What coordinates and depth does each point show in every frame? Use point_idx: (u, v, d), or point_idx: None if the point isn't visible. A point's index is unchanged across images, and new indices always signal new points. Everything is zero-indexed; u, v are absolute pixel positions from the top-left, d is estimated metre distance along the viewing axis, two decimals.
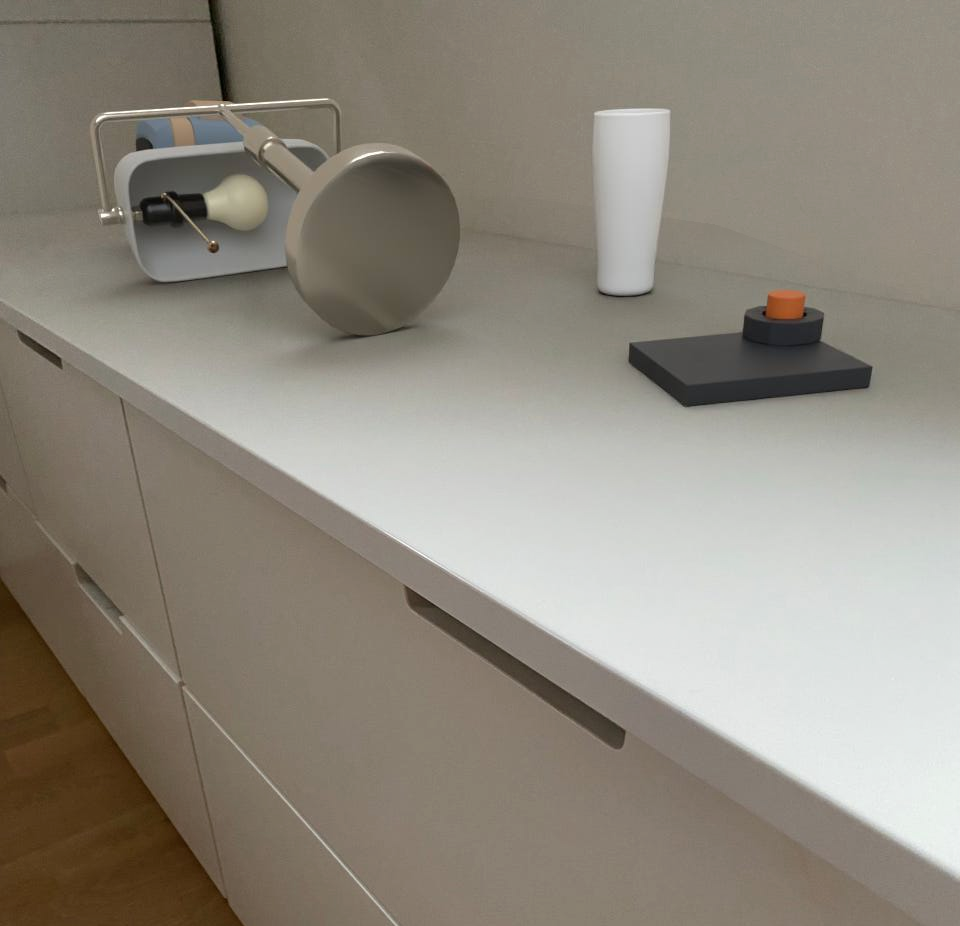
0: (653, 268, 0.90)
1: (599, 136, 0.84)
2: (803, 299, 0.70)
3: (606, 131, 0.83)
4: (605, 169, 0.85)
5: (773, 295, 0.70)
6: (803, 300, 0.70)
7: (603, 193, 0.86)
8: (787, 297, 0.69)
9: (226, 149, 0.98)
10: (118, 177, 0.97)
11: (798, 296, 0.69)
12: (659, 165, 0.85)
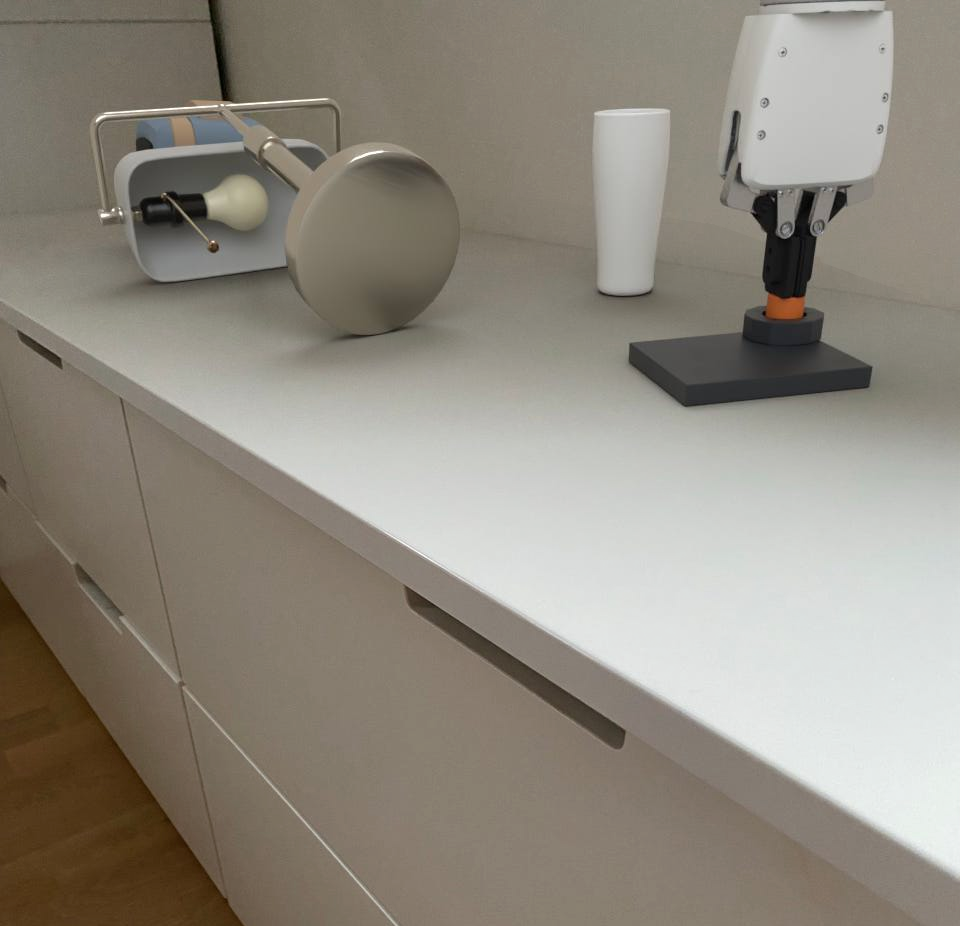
0: (653, 268, 0.90)
1: (599, 136, 0.84)
2: (803, 299, 0.70)
3: (606, 131, 0.83)
4: (605, 169, 0.85)
5: (773, 295, 0.70)
6: (803, 300, 0.70)
7: (603, 193, 0.86)
8: None
9: (226, 149, 0.98)
10: (118, 177, 0.97)
11: None
12: (659, 165, 0.85)
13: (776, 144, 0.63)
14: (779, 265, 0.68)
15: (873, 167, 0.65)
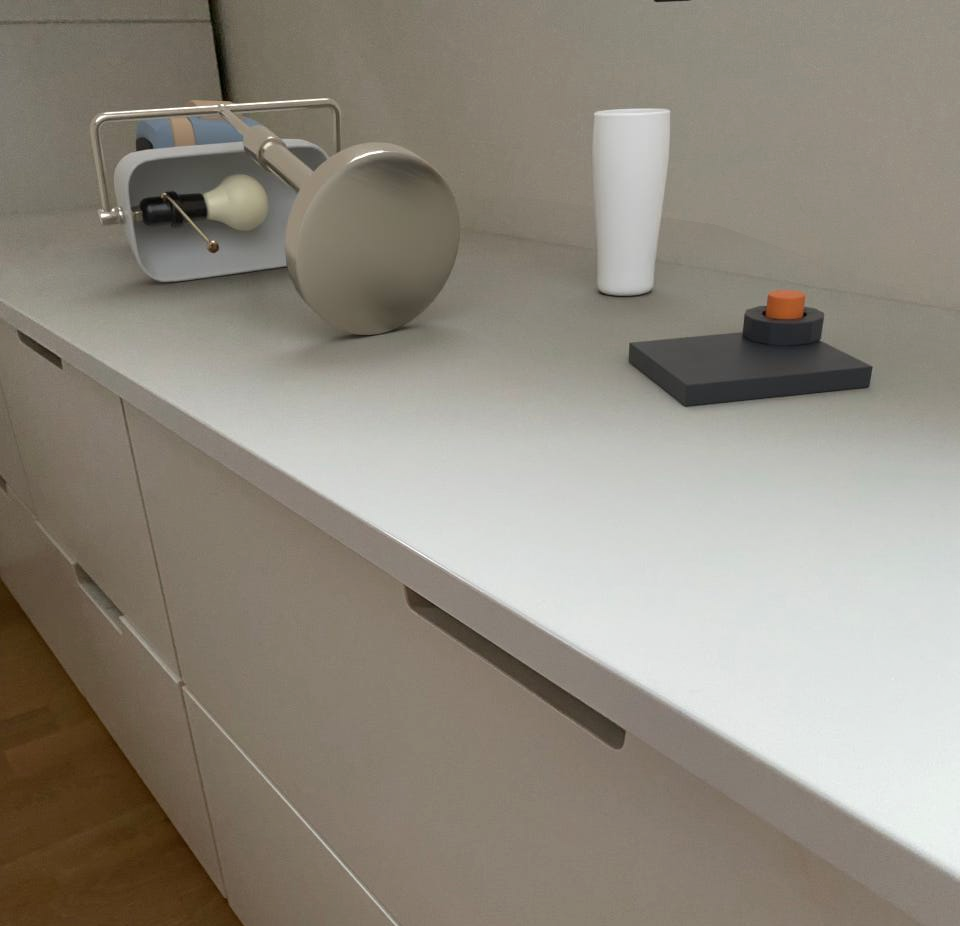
0: (653, 268, 0.90)
1: (599, 136, 0.84)
2: (803, 299, 0.70)
3: (606, 131, 0.83)
4: (605, 169, 0.85)
5: (773, 295, 0.70)
6: (803, 300, 0.70)
7: (603, 193, 0.86)
8: (787, 297, 0.69)
9: (226, 149, 0.98)
10: (118, 177, 0.97)
11: (798, 296, 0.69)
12: (659, 165, 0.85)
13: None
14: None
15: None
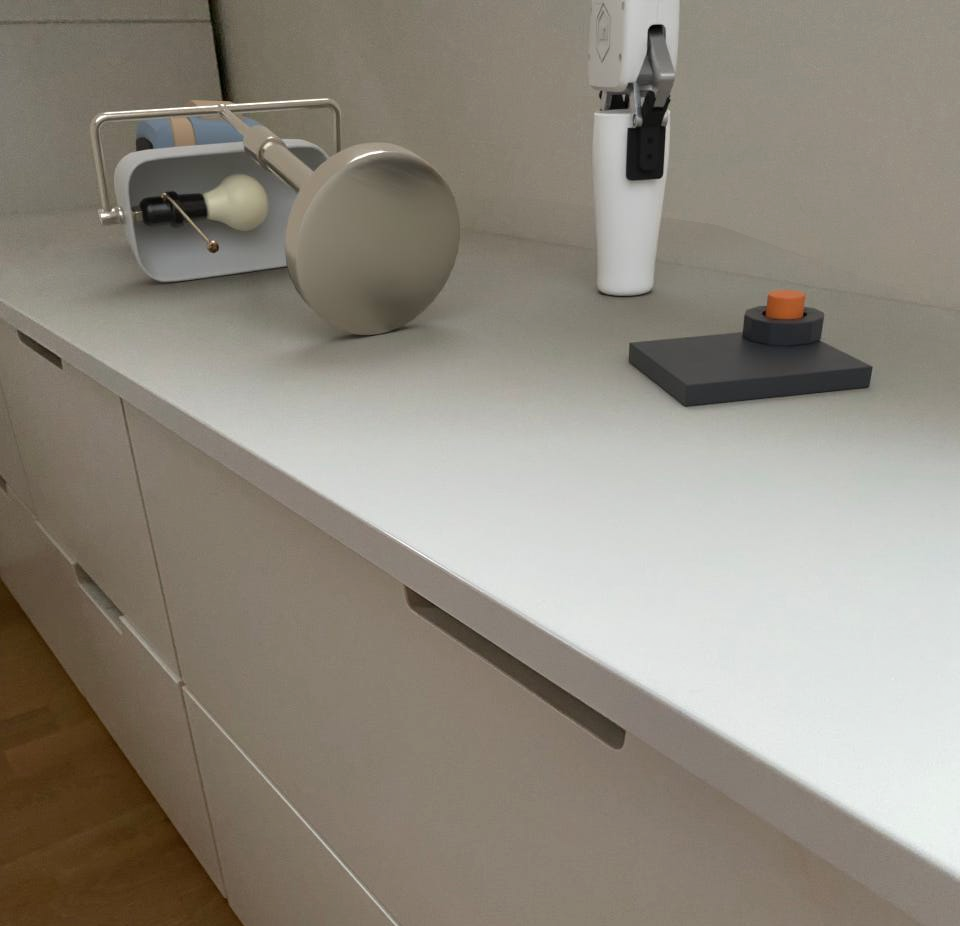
0: (653, 268, 0.90)
1: (599, 136, 0.84)
2: (803, 299, 0.70)
3: (606, 131, 0.83)
4: (605, 169, 0.85)
5: (773, 295, 0.70)
6: (803, 300, 0.70)
7: (603, 193, 0.86)
8: (787, 297, 0.69)
9: (226, 149, 0.98)
10: (118, 177, 0.97)
11: (798, 296, 0.69)
12: None
13: None
14: None
15: None
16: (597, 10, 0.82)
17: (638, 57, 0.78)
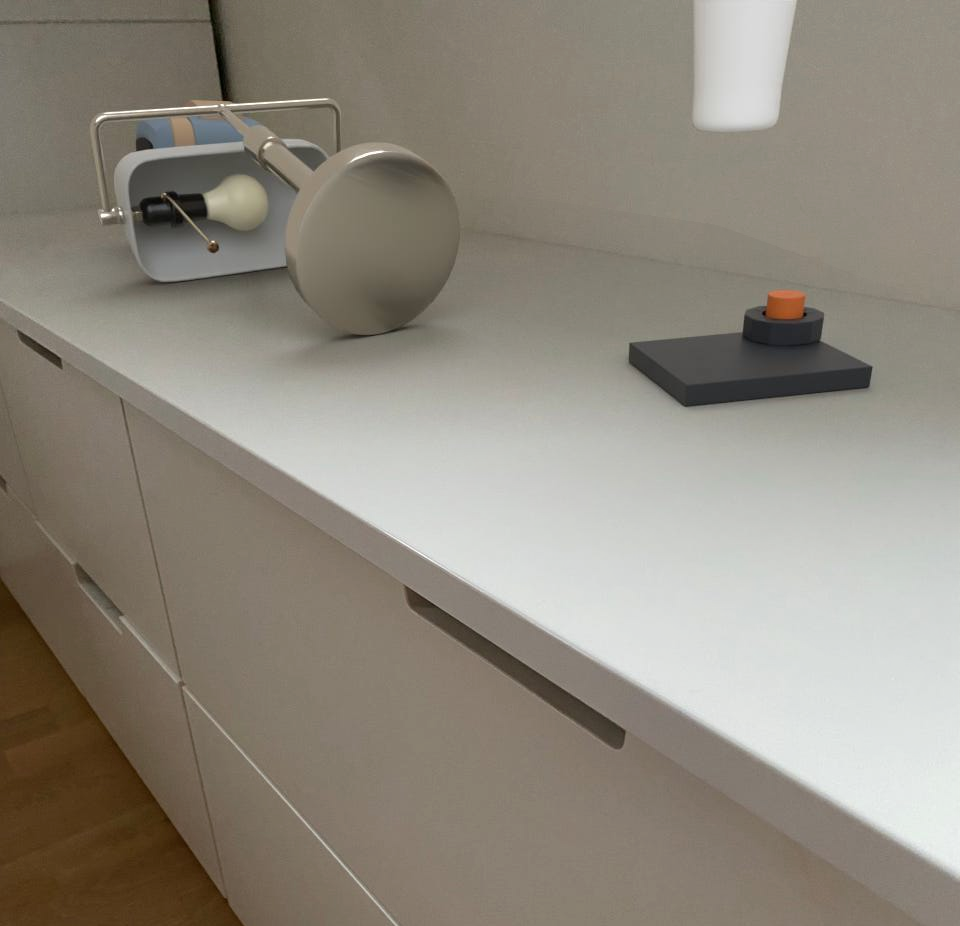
0: (780, 89, 0.60)
1: None
2: (803, 299, 0.70)
3: None
4: None
5: (773, 295, 0.70)
6: (803, 300, 0.70)
7: None
8: (787, 297, 0.69)
9: (226, 149, 0.98)
10: (118, 177, 0.97)
11: (798, 296, 0.69)
12: None
13: None
14: None
15: None
16: None
17: None
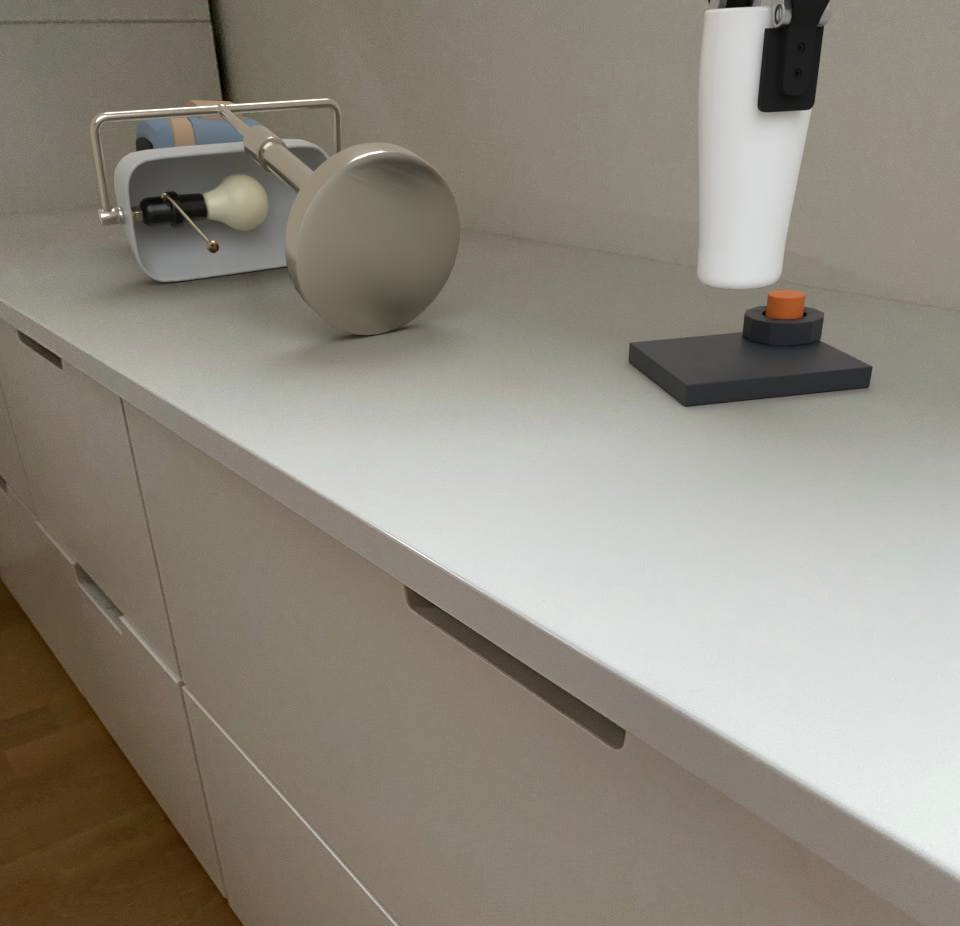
0: (783, 249, 0.61)
1: (715, 46, 0.55)
2: (803, 299, 0.70)
3: (727, 36, 0.54)
4: (723, 96, 0.56)
5: (773, 295, 0.70)
6: (803, 300, 0.70)
7: (717, 134, 0.57)
8: (787, 297, 0.69)
9: (226, 149, 0.98)
10: (118, 177, 0.97)
11: (798, 296, 0.69)
12: None
13: None
14: None
15: None
16: None
17: None
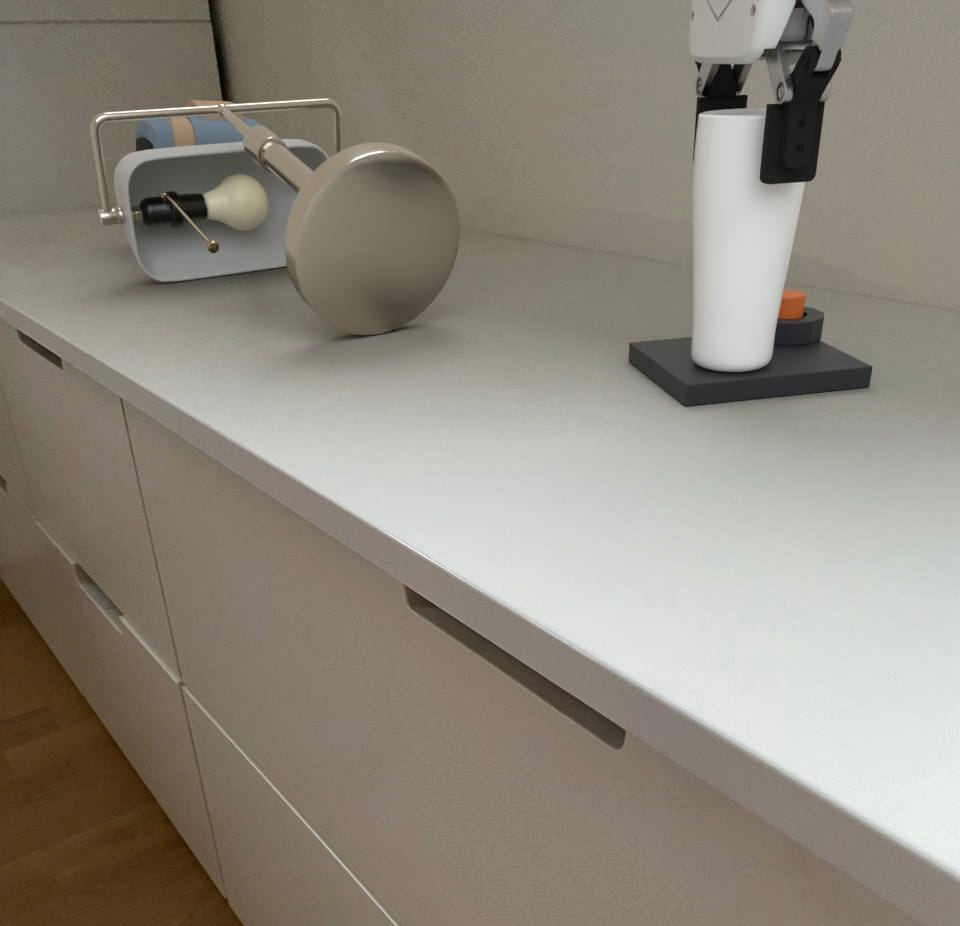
0: (774, 334, 0.64)
1: (709, 149, 0.58)
2: (803, 299, 0.70)
3: (720, 141, 0.57)
4: (715, 196, 0.59)
5: None
6: (803, 300, 0.70)
7: (710, 230, 0.60)
8: (787, 297, 0.69)
9: (226, 149, 0.98)
10: (118, 177, 0.97)
11: (798, 296, 0.69)
12: (794, 191, 0.58)
13: None
14: None
15: None
16: None
17: (782, 9, 0.51)
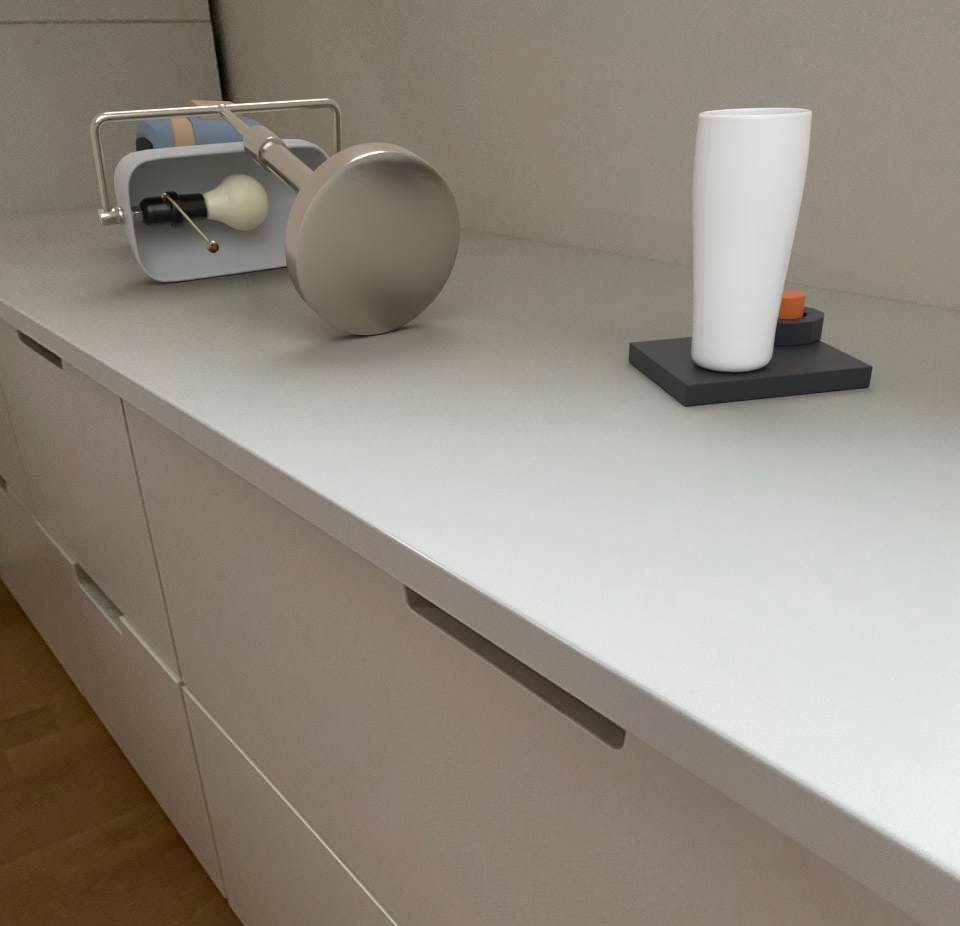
0: (774, 333, 0.64)
1: (708, 149, 0.58)
2: (803, 299, 0.70)
3: (719, 141, 0.57)
4: (715, 196, 0.59)
5: None
6: (803, 300, 0.70)
7: (710, 230, 0.60)
8: (787, 297, 0.69)
9: (226, 149, 0.98)
10: (118, 177, 0.97)
11: (798, 296, 0.69)
12: (794, 191, 0.58)
13: None
14: None
15: None
16: None
17: None
